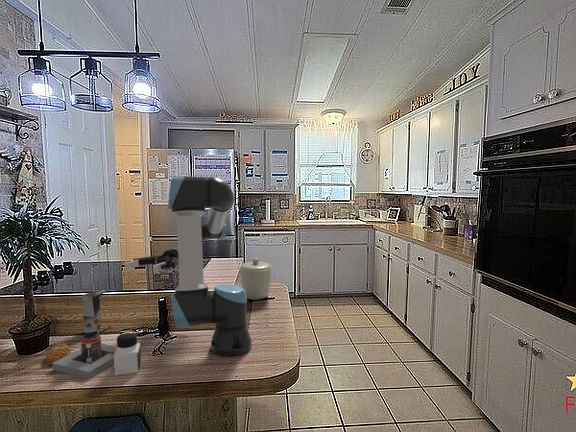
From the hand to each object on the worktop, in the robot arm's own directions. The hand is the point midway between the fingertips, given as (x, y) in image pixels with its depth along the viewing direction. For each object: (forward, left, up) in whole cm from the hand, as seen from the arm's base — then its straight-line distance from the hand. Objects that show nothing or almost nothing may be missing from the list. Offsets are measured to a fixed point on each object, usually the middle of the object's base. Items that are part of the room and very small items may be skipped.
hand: (139, 267), depth 135 cm
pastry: (+17, +22, -29) cm, 40 cm away
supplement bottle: (+4, +20, -29) cm, 35 cm away
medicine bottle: (-11, +19, -29) cm, 37 cm away
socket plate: (+4, +20, -29) cm, 35 cm away
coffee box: (+24, -1, -29) cm, 37 cm away
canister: (-21, -61, -29) cm, 71 cm away
